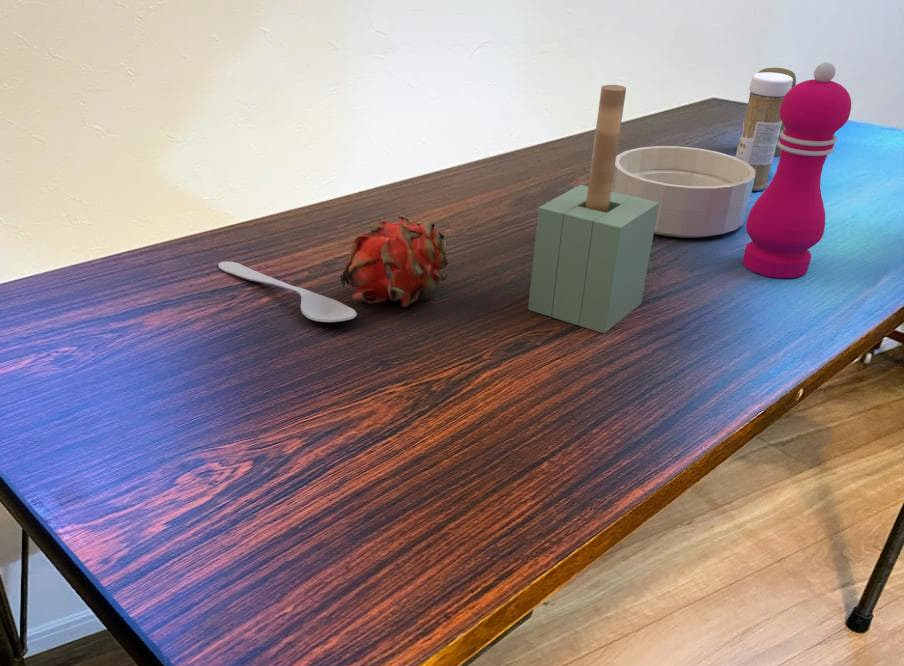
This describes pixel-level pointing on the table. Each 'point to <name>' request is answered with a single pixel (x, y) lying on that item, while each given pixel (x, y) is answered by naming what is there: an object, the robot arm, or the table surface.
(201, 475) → the table surface
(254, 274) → the spoon
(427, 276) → the dragon fruit
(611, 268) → the utensil block
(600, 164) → the cooking stick
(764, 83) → the sprinkles bottle
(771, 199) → the pepper mill
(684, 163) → the bowl
